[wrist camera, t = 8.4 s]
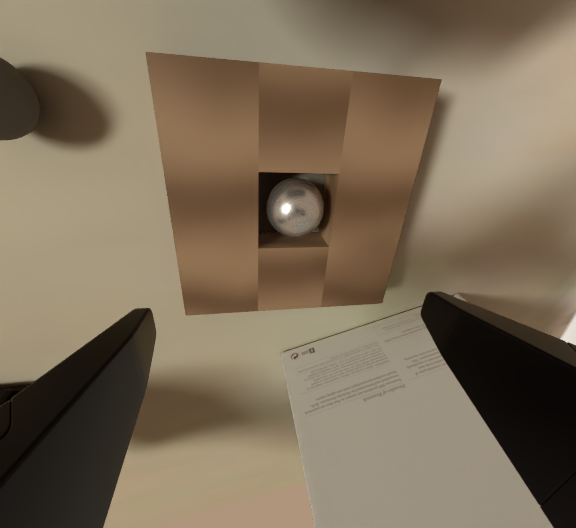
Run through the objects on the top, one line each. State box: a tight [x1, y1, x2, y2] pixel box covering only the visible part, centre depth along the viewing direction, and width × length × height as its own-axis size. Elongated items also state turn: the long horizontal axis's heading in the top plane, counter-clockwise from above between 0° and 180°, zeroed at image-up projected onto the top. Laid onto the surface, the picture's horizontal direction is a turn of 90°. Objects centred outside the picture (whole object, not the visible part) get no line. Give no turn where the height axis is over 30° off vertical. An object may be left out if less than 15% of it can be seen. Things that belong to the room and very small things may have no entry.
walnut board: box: [146, 52, 442, 315], centre depth 17 cm, size 14×14×2 cm
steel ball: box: [266, 178, 324, 237], centre depth 17 cm, size 4×4×4 cm
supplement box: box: [281, 293, 553, 528], centre depth 20 cm, size 17×13×18 cm
